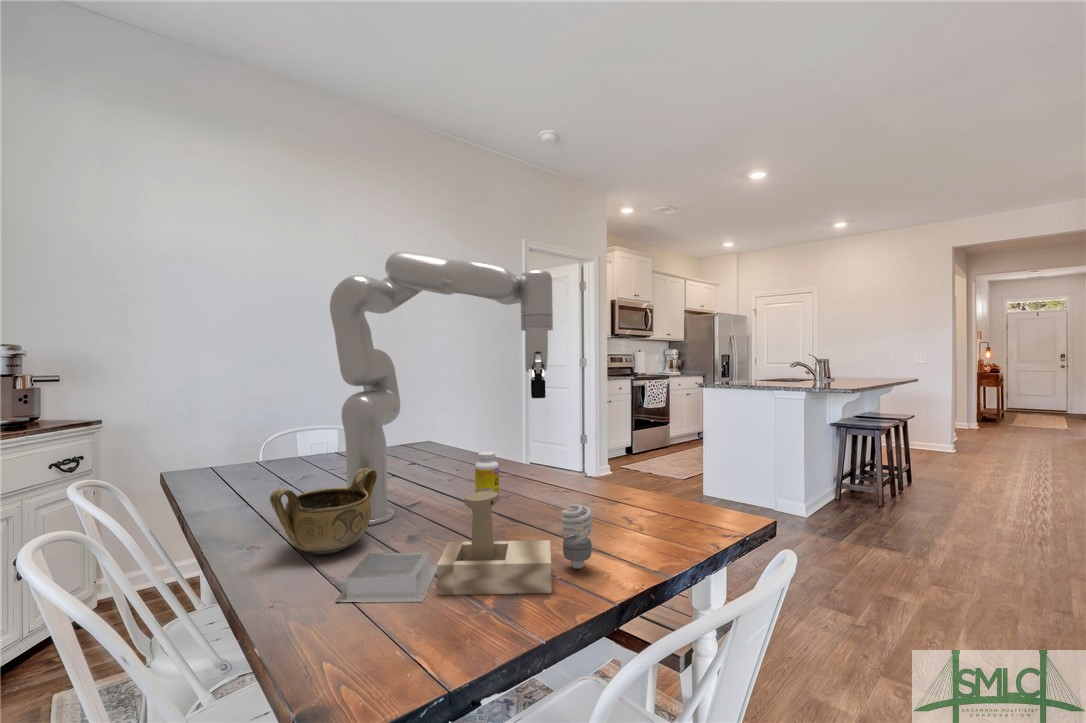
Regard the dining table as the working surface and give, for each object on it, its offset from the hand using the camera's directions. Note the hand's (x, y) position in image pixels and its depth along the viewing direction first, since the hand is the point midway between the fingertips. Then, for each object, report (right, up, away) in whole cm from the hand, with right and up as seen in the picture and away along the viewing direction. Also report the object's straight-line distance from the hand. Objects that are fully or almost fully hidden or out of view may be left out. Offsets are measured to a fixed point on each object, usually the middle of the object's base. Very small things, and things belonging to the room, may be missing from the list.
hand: (538, 396), depth 118 cm
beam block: (-7, -30, -29) cm, 43 cm away
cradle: (-25, -31, -30) cm, 50 cm away
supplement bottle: (-14, -31, +23) cm, 41 cm away
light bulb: (+8, -30, -25) cm, 40 cm away
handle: (-9, -31, -29) cm, 44 cm away
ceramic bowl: (-43, -31, -13) cm, 55 cm away
